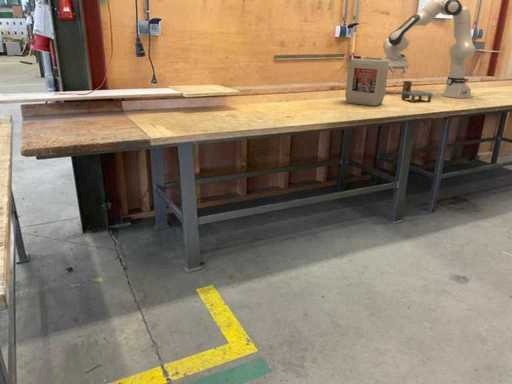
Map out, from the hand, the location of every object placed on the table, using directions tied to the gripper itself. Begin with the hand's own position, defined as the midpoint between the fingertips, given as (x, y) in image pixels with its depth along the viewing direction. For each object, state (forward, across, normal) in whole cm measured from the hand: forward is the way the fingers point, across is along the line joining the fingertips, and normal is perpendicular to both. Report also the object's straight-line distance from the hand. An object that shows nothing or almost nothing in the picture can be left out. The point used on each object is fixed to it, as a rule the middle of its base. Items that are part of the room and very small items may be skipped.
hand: (399, 72), depth 311 cm
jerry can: (+31, -44, -7) cm, 54 cm away
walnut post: (+20, 0, +4) cm, 20 cm away
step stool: (+29, 0, -5) cm, 29 cm away
